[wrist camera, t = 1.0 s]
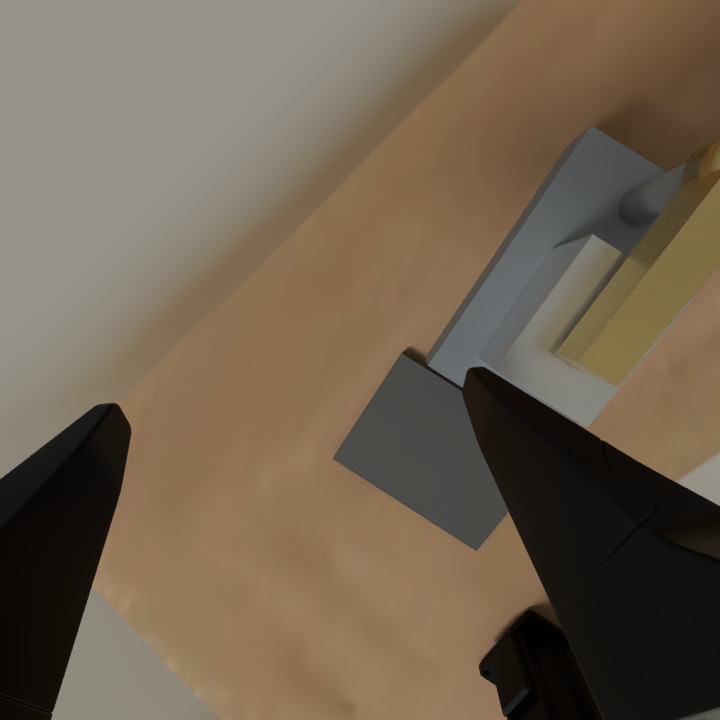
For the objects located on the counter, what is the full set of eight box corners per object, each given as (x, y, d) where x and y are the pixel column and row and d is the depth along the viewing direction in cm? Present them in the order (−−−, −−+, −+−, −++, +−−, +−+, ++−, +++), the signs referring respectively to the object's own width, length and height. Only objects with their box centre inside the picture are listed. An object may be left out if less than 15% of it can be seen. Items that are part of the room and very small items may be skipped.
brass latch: (771, 161, 14) (839, 135, 12) (597, 380, 16) (627, 392, 14) (713, 125, 14) (769, 94, 12) (547, 348, 16) (569, 356, 14)
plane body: (695, 229, 22) (849, 190, 14) (538, 429, 25) (597, 486, 17) (565, 148, 22) (649, 69, 14) (425, 358, 25) (433, 382, 17)
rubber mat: (553, 447, 25) (556, 451, 24) (474, 545, 26) (476, 550, 26) (402, 352, 25) (402, 353, 24) (334, 455, 27) (333, 458, 26)
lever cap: (629, 298, 20) (693, 296, 15) (549, 401, 21) (587, 428, 17) (551, 249, 20) (592, 234, 16) (476, 355, 21) (494, 370, 17)
